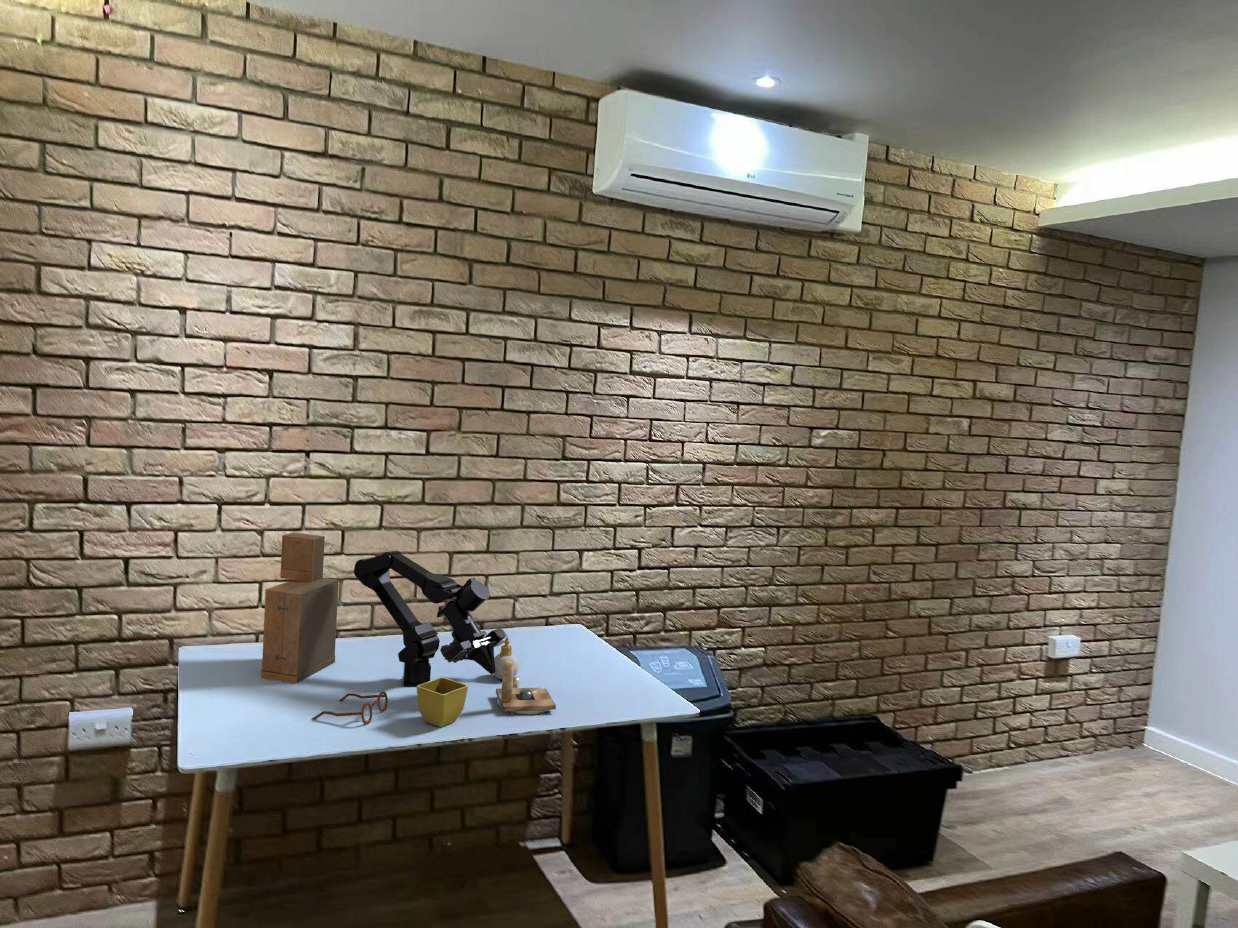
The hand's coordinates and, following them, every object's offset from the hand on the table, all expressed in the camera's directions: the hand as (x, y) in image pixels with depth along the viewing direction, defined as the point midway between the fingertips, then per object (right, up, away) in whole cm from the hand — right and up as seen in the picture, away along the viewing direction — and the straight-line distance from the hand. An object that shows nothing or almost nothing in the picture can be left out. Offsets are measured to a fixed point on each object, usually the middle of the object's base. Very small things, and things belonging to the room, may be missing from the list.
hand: (493, 673), depth 223 cm
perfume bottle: (-1, -7, +21) cm, 22 cm away
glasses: (-32, -7, -12) cm, 35 cm away
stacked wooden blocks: (-55, -3, +16) cm, 57 cm away
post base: (+7, -8, +4) cm, 12 cm away
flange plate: (+8, -7, +2) cm, 11 cm away
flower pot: (-11, -9, -13) cm, 19 cm away
